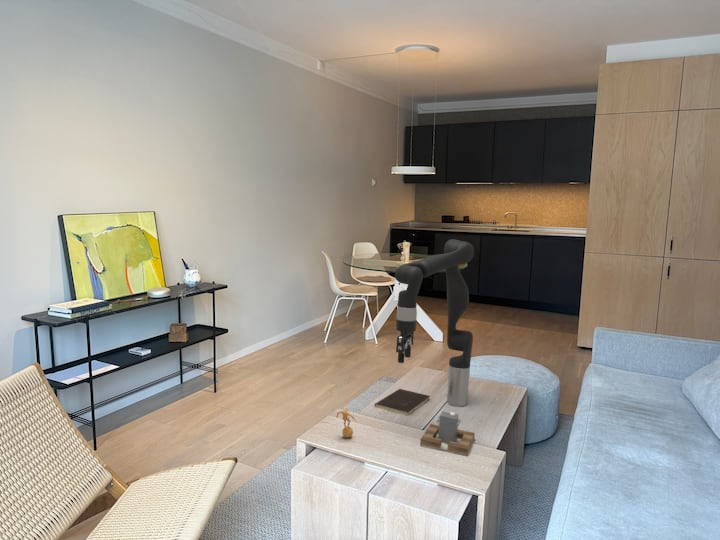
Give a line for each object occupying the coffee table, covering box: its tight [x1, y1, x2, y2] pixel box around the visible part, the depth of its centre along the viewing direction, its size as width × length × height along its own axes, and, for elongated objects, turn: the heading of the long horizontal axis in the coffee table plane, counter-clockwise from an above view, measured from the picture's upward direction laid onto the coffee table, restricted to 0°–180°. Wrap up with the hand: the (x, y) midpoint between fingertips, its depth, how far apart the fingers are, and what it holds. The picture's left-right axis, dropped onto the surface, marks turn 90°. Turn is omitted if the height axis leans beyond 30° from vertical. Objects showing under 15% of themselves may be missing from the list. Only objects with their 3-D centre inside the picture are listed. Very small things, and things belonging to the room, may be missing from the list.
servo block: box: [436, 411, 462, 444], centre depth 189 cm, size 4×8×11 cm, turn 68°
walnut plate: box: [419, 423, 476, 457], centre depth 190 cm, size 15×17×3 cm
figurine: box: [336, 407, 357, 438], centre depth 189 cm, size 8×6×12 cm
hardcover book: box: [374, 388, 431, 416], centre depth 227 cm, size 16×23×2 cm
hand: (404, 359), depth 196 cm, fingers open, 8 cm apart
